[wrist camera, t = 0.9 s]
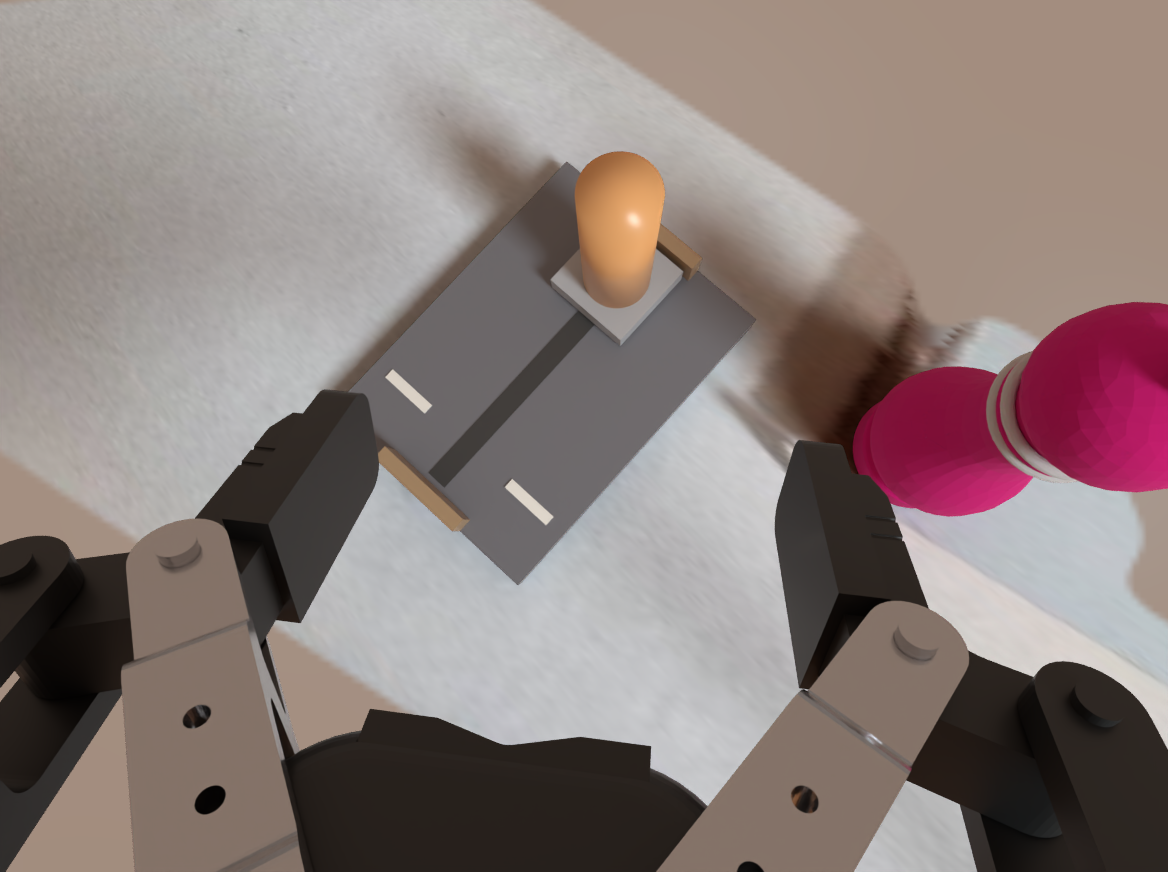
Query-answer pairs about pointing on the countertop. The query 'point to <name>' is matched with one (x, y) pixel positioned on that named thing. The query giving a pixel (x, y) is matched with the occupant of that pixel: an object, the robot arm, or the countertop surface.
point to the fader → (618, 245)
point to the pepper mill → (1029, 418)
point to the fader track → (536, 385)
